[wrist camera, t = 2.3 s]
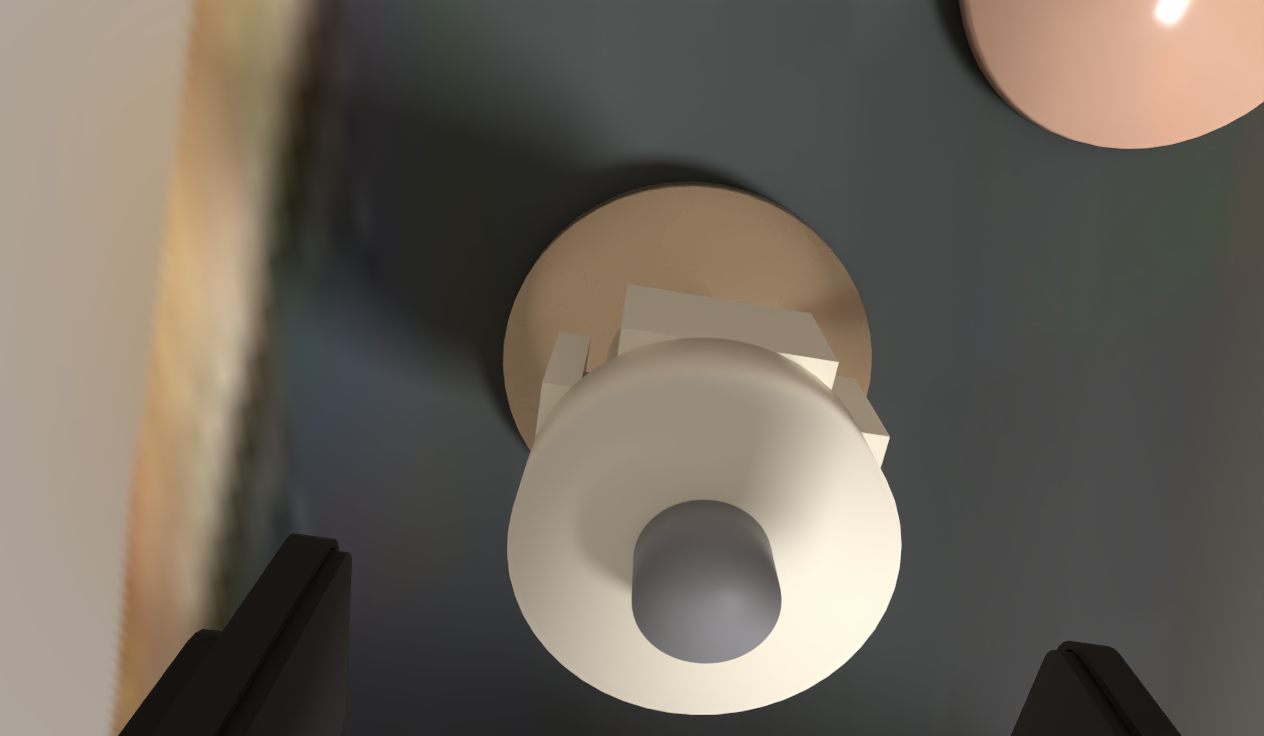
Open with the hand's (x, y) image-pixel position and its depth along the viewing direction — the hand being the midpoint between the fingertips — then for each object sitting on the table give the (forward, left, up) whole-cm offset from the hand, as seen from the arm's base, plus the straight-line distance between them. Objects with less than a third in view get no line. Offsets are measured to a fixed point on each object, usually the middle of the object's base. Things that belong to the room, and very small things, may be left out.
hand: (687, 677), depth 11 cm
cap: (0, 0, -9) cm, 9 cm away
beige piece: (0, 0, -14) cm, 14 cm away
